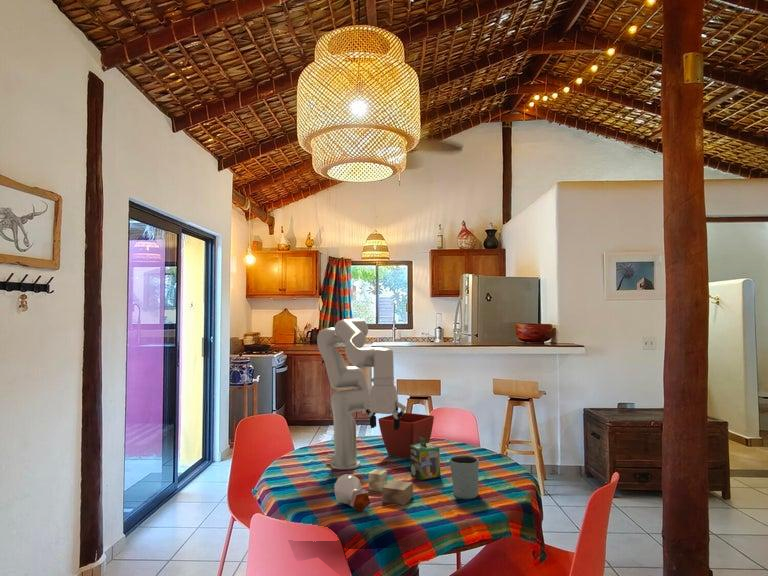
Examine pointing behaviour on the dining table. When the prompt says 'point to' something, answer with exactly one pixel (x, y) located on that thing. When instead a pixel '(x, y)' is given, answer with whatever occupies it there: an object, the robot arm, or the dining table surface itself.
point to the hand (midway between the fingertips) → (384, 428)
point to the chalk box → (425, 460)
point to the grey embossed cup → (465, 476)
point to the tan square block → (397, 492)
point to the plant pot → (405, 433)
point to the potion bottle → (351, 492)
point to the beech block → (377, 479)
